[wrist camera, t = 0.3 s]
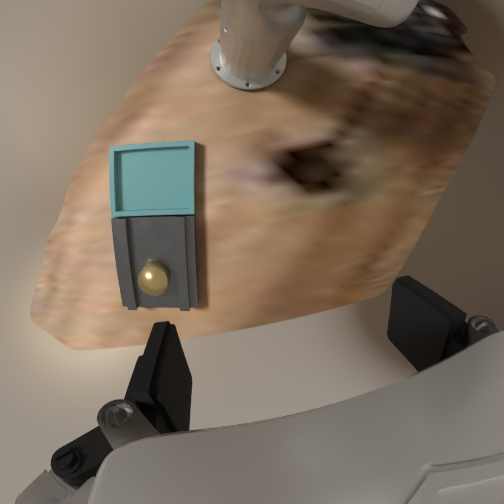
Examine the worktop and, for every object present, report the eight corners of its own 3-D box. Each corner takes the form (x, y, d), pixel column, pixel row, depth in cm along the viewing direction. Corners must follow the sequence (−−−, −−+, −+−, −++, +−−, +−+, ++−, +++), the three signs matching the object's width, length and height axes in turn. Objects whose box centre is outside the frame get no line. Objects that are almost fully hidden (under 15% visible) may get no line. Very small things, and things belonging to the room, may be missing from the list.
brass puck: (139, 262, 43) (136, 267, 41) (168, 261, 44) (165, 267, 41) (143, 289, 45) (139, 295, 42) (170, 289, 45) (168, 296, 43)
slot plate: (115, 216, 42) (108, 220, 39) (195, 213, 44) (193, 217, 41) (126, 301, 47) (121, 309, 44) (198, 302, 49) (197, 310, 46)
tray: (113, 147, 39) (109, 146, 37) (195, 141, 40) (194, 140, 39) (115, 214, 42) (111, 216, 40) (195, 212, 44) (194, 214, 42)
